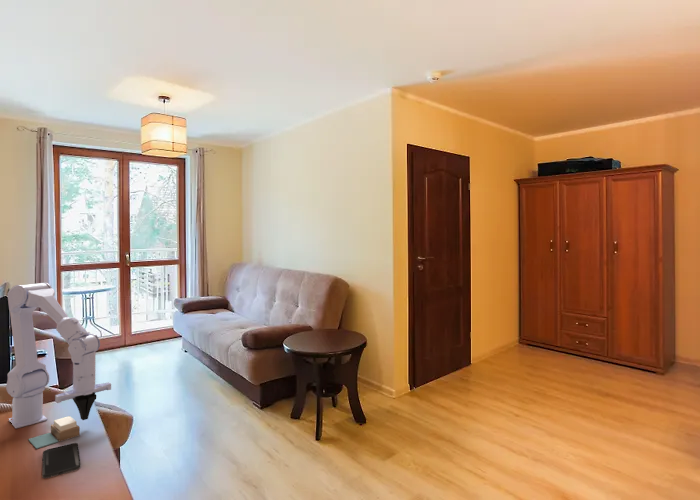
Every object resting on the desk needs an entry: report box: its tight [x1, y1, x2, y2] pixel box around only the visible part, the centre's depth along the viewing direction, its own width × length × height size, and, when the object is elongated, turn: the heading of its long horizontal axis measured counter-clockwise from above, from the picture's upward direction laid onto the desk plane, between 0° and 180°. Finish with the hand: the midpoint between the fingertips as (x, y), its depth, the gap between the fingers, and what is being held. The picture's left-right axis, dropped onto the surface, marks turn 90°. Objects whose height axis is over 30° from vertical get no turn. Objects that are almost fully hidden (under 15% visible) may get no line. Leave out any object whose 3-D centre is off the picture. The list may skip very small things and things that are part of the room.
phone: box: [41, 442, 82, 479], centre depth 105 cm, size 8×1×15 cm
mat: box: [28, 432, 59, 450], centre depth 115 cm, size 8×5×1 cm, turn 52°
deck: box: [50, 423, 81, 443], centre depth 119 cm, size 8×5×2 cm, turn 52°
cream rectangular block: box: [53, 415, 78, 431], centre depth 119 cm, size 6×4×2 cm, turn 51°
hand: (84, 418), depth 123 cm, fingers closed
